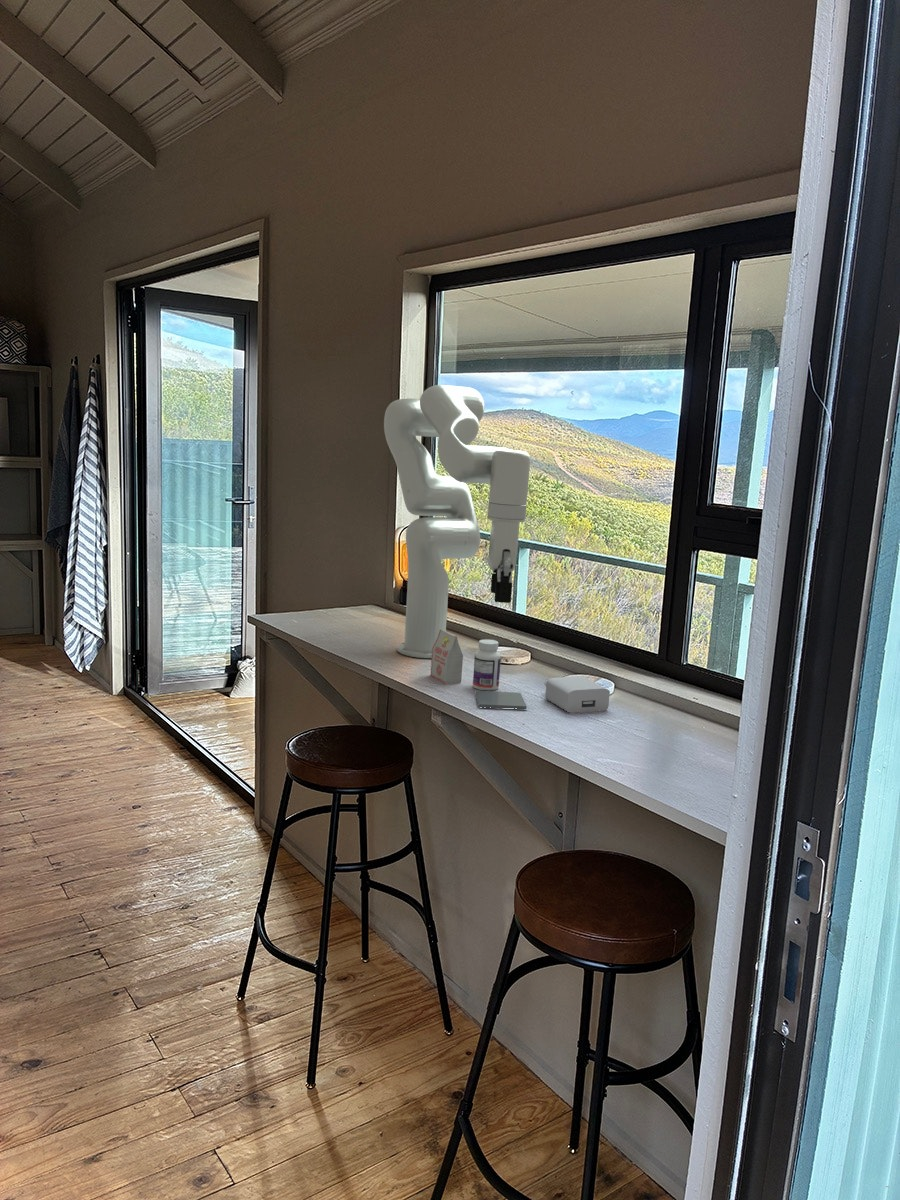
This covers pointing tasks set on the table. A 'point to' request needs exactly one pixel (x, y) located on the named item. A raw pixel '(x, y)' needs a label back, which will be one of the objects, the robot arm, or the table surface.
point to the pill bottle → (487, 666)
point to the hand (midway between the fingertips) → (500, 597)
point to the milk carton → (446, 659)
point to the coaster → (500, 699)
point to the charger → (577, 694)
